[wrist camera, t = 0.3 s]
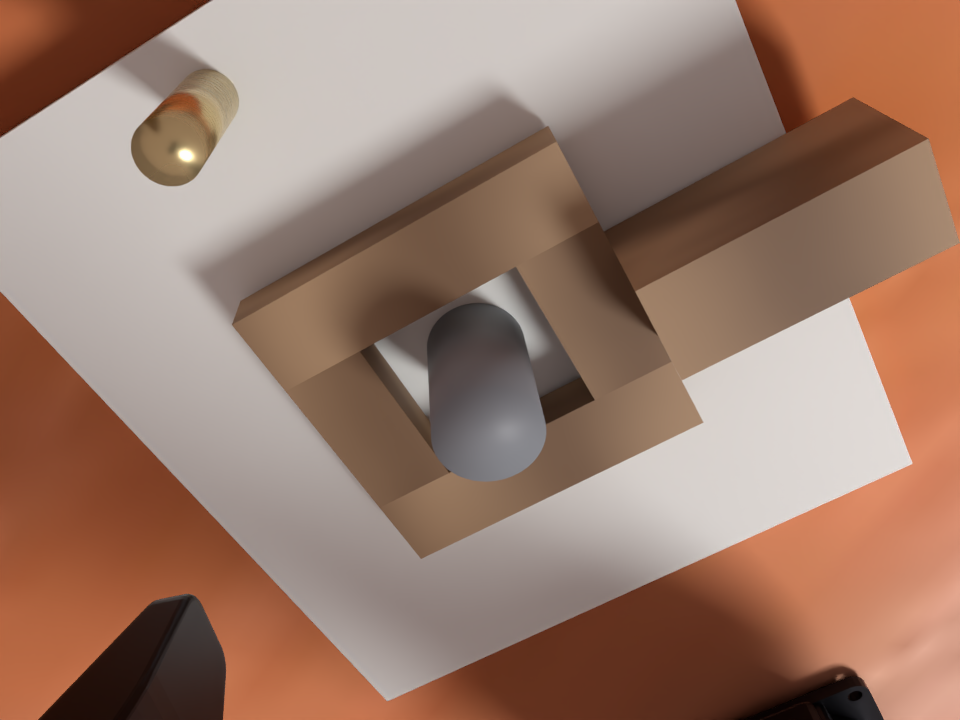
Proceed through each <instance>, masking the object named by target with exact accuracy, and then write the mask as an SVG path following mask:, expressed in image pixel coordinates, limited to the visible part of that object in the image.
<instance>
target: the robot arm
mask: <svg viewBox="0 0 960 720" xmlns="http://www.w3.org/2000/svg"><path fill="white" fill-rule="evenodd" d="M225 680H226V663H225V657H224V653H223V650H222V647H221V645H220V643H219V641H218V639H217V636H216V634H215V632H214V630H213V628H212V626H211V624H210V621H209V619H208V617H207V615H206V613H205V611H204V609H203V607H202V604H201V603H200V601H199V600H198V599H197V598H196V597H195V596H194V595H191V594H184V595H179V596H173V597H168V598H163V599H159V600H156V601H154V602H152V603H151V604H150V605H148V606H147V607H146V608H145V609H144V610H143V611H142V612H141V613H140V615H139V616H138V617H137V618H136V619H135V620H134V621H133V622H132V623H131V624H130V625H129V626H128V627H127V628H126V629H125V630H124V631H123V632H122V633H121V634H120V635H119V636H118V637H117V638H116V639H115V640H114V642H113V643H112V644H111V645H110V646H109V647H108V648H107V649H106V650H105V651H104V652H103V653H102V654H101V655H100V656H99V657H98V658H97V659H96V660H95V661H94V662H93V663H92V664H91V665H90V666H89V667H88V668H87V670H86V671H85V672H84V673H83V674H82V675H81V676H80V677H79V678H78V679H77V680H76V681H75V682H74V683H73V684H72V685H71V686H70V687H69V688H68V689H67V690H66V691H65V692H64V693H63V694H62V695H61V696H60V698H59V699H58V700H57V701H56V702H55V703H54V704H53V705H52V706H51V707H50V708H49V709H48V710H47V711H46V712H45V713H44V714H43V715H42V716H41V717H40V718H39V719H38V720H223V711H224V695H225ZM745 720H884V719H883V717H882V715H881V713H880V711H879V709H878V707H877V705H876V703H875V701H874V699H873V697H872V695H871V693H870V691H869V689H868V687H867V685H866V684H865V682H864V680H863V679H862V678H860V677H848V678H845V679H842V680H840V681H837V682H835V683H833V684H830V685H828V686H825V687H823V688H820V689H818V690H816V691H813V692H811V693H808V694H806V695H804V696H801V697H799V698H796V699H794V700H791V701H789V702H787V703H784V704H782V705H779V706H777V707H774V708H772V709H770V710H767V711H765V712H762V713H760V714H757V715H755V716H753V717H750V718H748V719H745Z"/></svg>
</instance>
